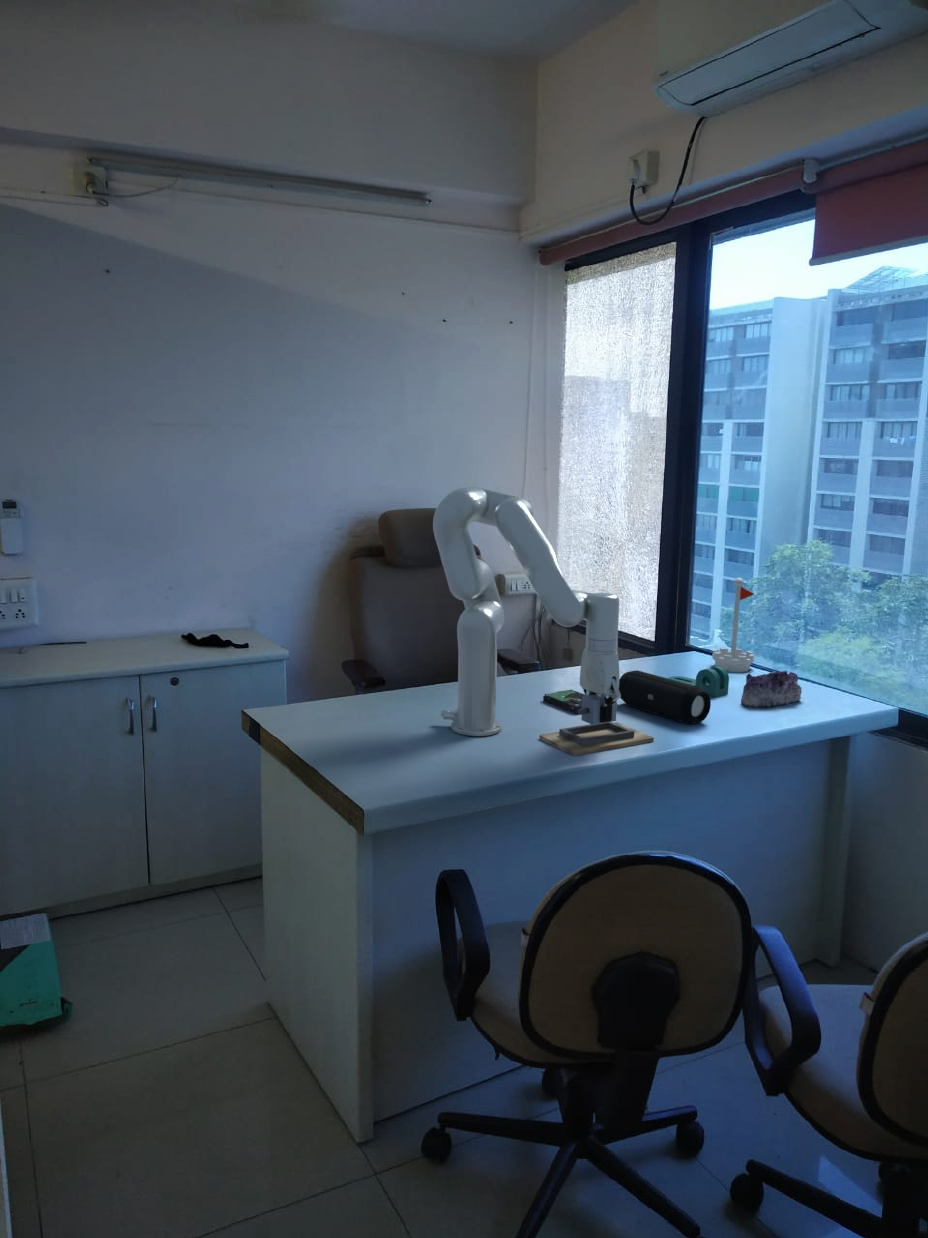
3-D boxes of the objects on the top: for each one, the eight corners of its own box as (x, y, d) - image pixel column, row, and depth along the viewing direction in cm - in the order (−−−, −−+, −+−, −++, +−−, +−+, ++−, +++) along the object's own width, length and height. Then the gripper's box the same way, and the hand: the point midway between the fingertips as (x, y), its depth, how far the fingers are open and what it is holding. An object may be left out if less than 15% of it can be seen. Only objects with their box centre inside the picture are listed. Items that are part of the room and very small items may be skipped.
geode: (767, 713, 250) (765, 677, 249) (732, 709, 259) (729, 674, 258) (810, 699, 262) (808, 665, 261) (774, 696, 271) (772, 662, 270)
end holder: (539, 738, 223) (539, 729, 223) (616, 726, 235) (617, 716, 234) (573, 756, 211) (574, 745, 211) (653, 741, 223) (654, 731, 223)
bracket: (727, 694, 269) (729, 668, 267) (714, 698, 264) (716, 672, 263) (676, 682, 282) (678, 657, 280) (663, 685, 277) (664, 660, 276)
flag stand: (713, 671, 296) (720, 579, 290) (709, 662, 308) (716, 574, 303) (755, 674, 294) (763, 581, 288) (749, 664, 306) (757, 575, 301)
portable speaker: (613, 705, 254) (615, 670, 252) (638, 700, 260) (640, 666, 258) (687, 729, 234) (689, 691, 232) (711, 723, 240) (714, 686, 238)
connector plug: (573, 721, 221) (574, 697, 220) (608, 715, 226) (609, 691, 225) (584, 726, 217) (585, 701, 216) (619, 720, 222) (620, 696, 221)
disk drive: (605, 711, 250) (570, 698, 262) (606, 701, 249) (571, 688, 262) (576, 717, 244) (541, 702, 256) (577, 706, 244) (542, 693, 256)
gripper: (567, 640, 224) (565, 712, 227) (611, 653, 210) (608, 730, 213) (592, 637, 228) (589, 708, 231) (637, 650, 213) (633, 725, 217)
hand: (598, 718), depth 222 cm, fingers closed on connector plug, 4 cm apart
